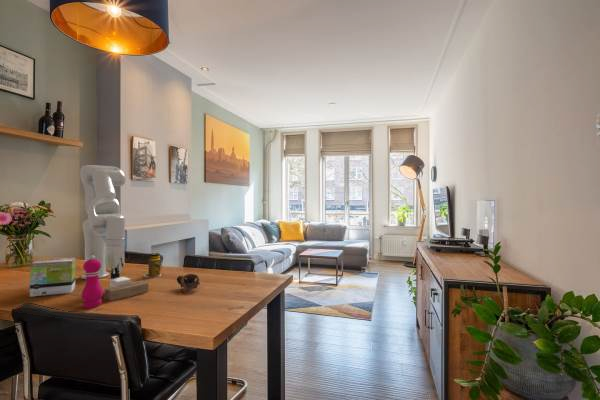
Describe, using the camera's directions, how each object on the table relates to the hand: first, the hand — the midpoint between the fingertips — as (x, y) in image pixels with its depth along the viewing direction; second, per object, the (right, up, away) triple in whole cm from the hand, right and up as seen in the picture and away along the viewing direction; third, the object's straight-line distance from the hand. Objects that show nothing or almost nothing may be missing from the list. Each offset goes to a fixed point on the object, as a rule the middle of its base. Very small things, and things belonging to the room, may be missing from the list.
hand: (115, 281), depth 146 cm
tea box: (-26, -4, -4) cm, 26 cm away
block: (+4, -4, -3) cm, 7 cm away
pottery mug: (+33, -5, +2) cm, 34 cm away
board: (+9, -4, -7) cm, 12 cm away
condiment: (+5, -4, +27) cm, 28 cm away
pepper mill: (+3, -5, -20) cm, 21 cm away
